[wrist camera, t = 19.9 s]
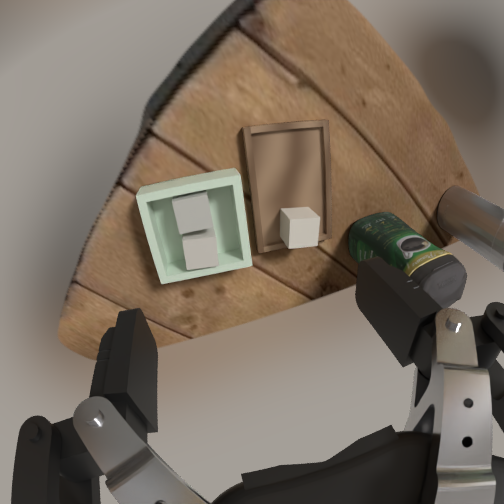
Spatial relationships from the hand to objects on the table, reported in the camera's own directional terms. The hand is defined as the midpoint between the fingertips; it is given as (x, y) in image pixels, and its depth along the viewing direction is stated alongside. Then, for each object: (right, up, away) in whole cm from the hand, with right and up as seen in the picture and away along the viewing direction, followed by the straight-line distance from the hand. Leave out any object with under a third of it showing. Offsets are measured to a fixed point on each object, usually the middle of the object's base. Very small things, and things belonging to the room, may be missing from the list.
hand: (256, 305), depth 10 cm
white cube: (+6, +6, +30) cm, 31 cm away
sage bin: (-7, +6, +28) cm, 29 cm away
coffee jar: (+19, +5, +35) cm, 40 cm away
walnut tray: (+5, +11, +28) cm, 30 cm away
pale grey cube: (-7, +4, +28) cm, 29 cm away
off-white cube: (-8, +8, +26) cm, 28 cm away
